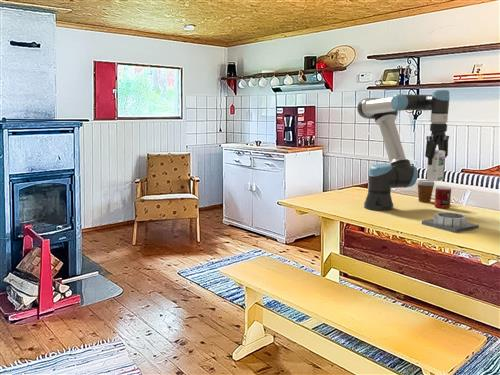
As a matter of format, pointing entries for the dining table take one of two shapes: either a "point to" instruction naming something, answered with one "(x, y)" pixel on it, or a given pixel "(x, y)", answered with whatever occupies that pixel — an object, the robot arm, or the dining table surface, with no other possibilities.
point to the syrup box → (437, 167)
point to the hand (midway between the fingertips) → (435, 171)
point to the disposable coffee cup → (425, 190)
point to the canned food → (442, 197)
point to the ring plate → (449, 228)
